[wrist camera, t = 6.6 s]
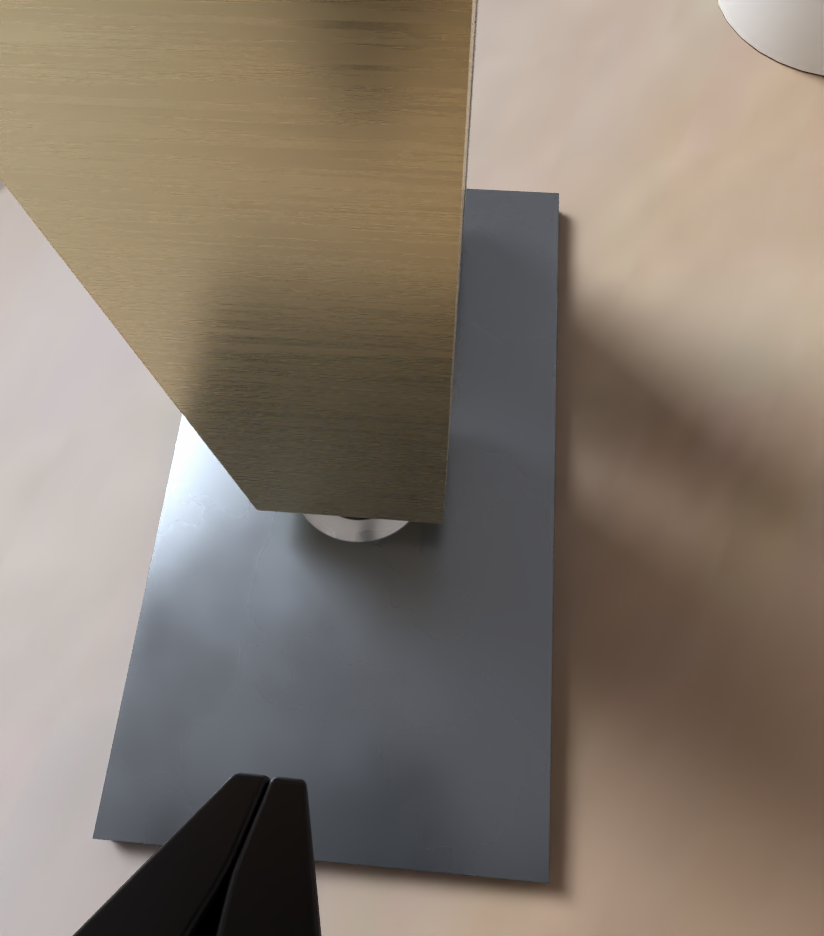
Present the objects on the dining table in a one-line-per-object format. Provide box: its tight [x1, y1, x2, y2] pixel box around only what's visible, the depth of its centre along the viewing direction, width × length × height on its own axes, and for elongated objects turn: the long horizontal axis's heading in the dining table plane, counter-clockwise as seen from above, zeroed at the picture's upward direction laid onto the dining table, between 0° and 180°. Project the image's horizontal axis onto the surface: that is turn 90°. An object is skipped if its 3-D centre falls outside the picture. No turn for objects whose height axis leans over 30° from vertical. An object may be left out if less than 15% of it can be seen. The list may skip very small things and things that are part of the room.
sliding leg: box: [0, 0, 476, 524], centre depth 9 cm, size 3×4×16 cm
